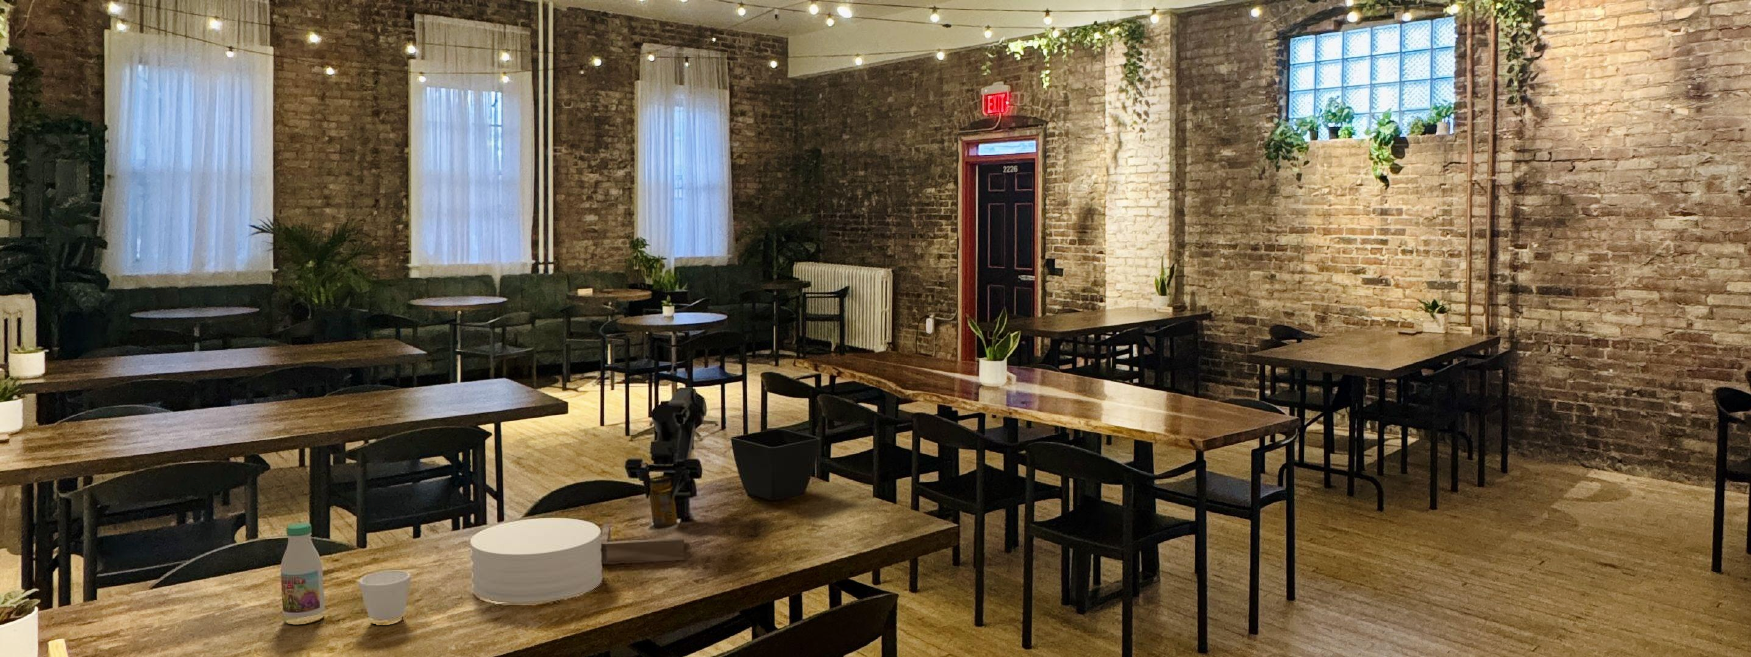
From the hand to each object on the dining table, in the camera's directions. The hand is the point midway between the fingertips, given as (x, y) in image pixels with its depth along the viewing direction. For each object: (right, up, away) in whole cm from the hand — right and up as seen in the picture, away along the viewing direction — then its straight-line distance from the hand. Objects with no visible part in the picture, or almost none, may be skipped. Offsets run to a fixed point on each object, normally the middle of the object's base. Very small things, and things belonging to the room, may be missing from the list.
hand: (659, 497), depth 293 cm
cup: (-47, -18, -50) cm, 71 cm away
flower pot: (+25, -6, +50) cm, 56 cm away
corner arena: (-3, -12, -4) cm, 14 cm away
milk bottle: (-64, -18, -49) cm, 83 cm away
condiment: (+1, -7, +2) cm, 8 cm away
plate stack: (-22, -16, -28) cm, 39 cm away
